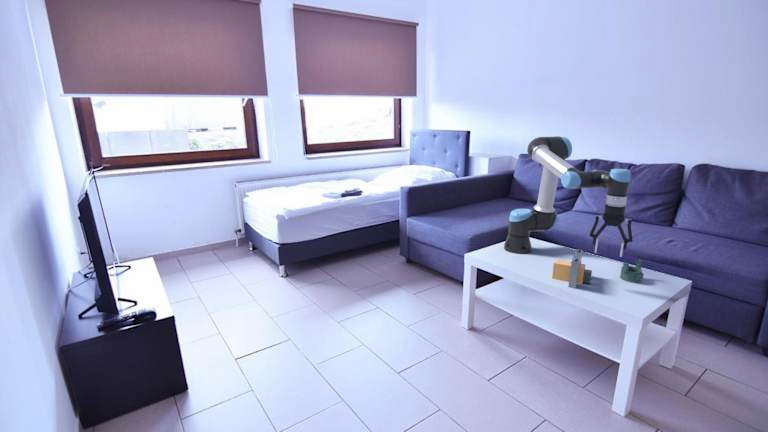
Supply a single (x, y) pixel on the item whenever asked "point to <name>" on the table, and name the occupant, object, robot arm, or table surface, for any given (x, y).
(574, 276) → the housing
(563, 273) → the plug
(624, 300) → the table surface
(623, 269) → the teal lumpy piece
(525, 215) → the robot arm
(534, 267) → the table surface
